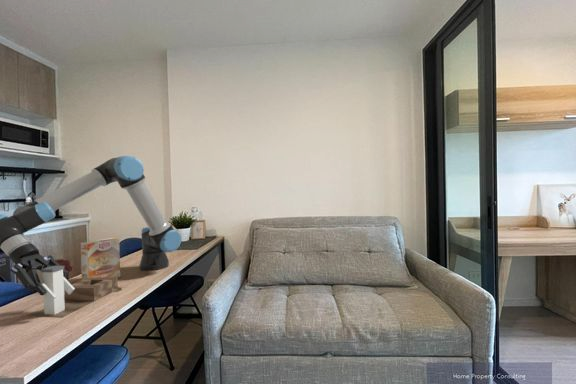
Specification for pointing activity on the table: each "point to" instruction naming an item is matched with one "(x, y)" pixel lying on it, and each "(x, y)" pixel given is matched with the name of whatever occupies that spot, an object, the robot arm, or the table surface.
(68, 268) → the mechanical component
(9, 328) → the table surface
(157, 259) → the robot arm
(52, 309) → the post
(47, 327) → the table surface
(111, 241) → the coffeecake box
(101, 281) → the wooden socket base
